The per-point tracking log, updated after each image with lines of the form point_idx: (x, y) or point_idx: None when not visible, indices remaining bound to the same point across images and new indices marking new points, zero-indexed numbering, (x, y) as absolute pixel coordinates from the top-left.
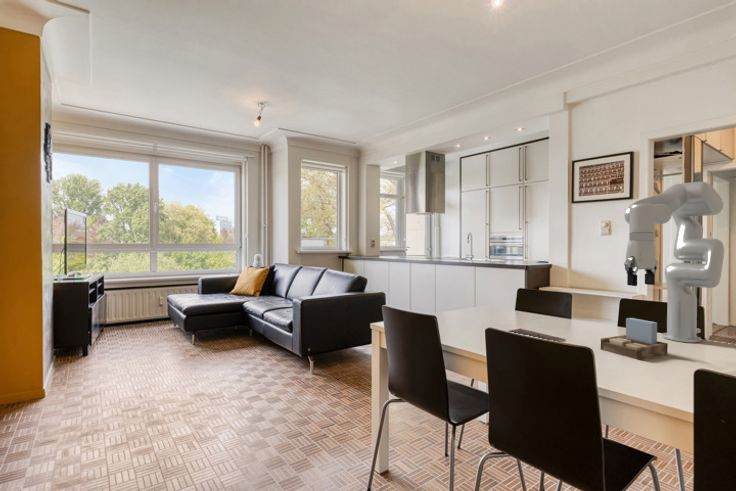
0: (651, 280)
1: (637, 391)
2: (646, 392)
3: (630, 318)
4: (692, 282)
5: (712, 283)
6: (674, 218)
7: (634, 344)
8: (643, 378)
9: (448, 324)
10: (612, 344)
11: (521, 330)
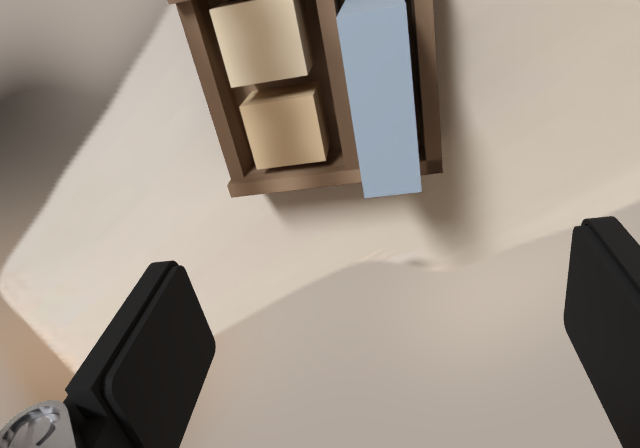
0: (588, 356)
1: (64, 322)
2: (82, 331)
3: (374, 25)
4: None
5: None
6: None
7: (283, 119)
8: (142, 272)
9: None
10: (194, 60)
11: None
